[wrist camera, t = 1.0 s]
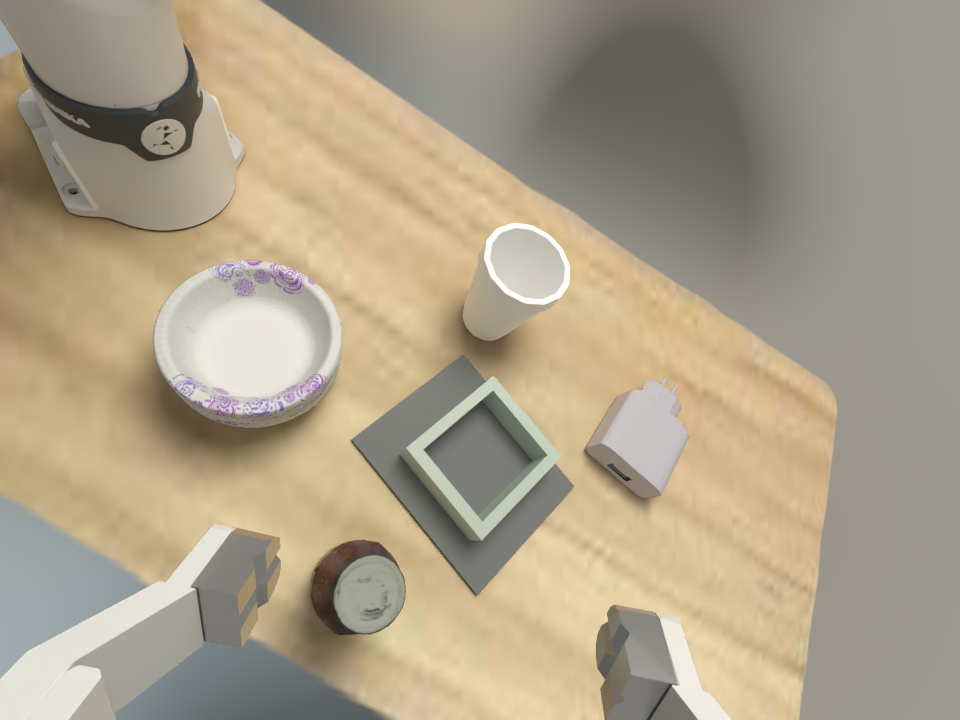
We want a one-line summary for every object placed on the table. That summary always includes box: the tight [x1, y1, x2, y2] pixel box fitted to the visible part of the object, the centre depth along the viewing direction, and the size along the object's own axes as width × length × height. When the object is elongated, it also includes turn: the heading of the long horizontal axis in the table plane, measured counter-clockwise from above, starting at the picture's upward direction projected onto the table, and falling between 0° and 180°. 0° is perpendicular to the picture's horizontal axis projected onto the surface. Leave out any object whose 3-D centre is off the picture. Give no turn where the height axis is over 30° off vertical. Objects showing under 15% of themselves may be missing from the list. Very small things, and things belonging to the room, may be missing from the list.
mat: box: [352, 355, 574, 595], centre depth 50 cm, size 20×16×1 cm
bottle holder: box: [400, 376, 562, 541], centre depth 48 cm, size 11×12×4 cm
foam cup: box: [462, 223, 570, 341], centre depth 52 cm, size 10×9×13 cm
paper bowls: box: [153, 260, 343, 428], centre depth 44 cm, size 15×15×8 cm
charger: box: [585, 377, 689, 498], centre depth 57 cm, size 5×9×15 cm
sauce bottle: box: [311, 540, 406, 635], centre depth 34 cm, size 6×6×20 cm
